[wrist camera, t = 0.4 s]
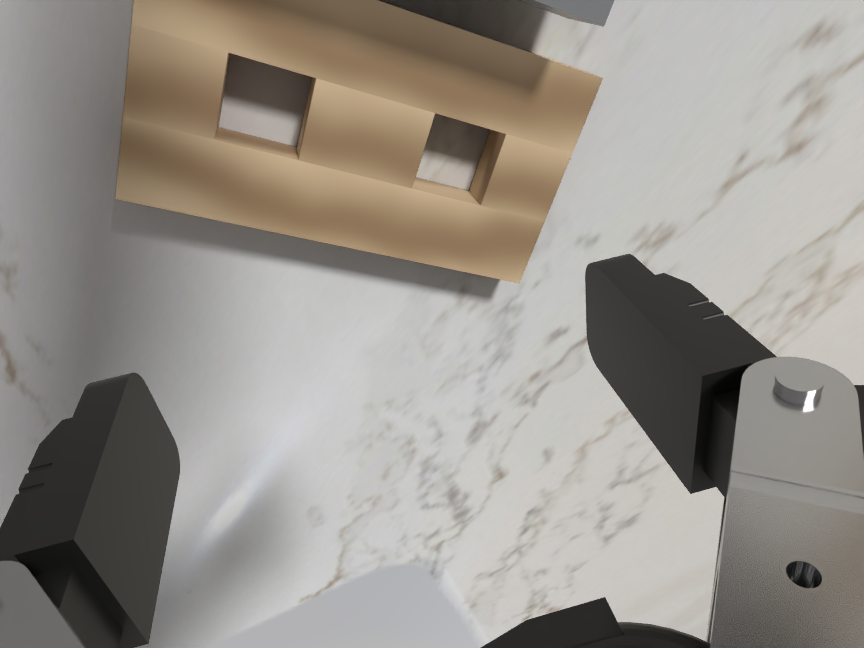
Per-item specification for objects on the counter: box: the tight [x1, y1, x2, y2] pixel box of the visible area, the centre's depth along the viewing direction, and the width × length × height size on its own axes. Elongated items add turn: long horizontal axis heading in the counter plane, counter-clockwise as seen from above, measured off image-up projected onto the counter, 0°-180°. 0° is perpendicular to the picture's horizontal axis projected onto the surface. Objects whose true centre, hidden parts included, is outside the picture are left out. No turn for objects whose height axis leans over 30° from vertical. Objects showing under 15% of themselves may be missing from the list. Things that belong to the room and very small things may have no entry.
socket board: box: [115, 0, 603, 283], centre depth 33 cm, size 12×22×2 cm, turn 72°
